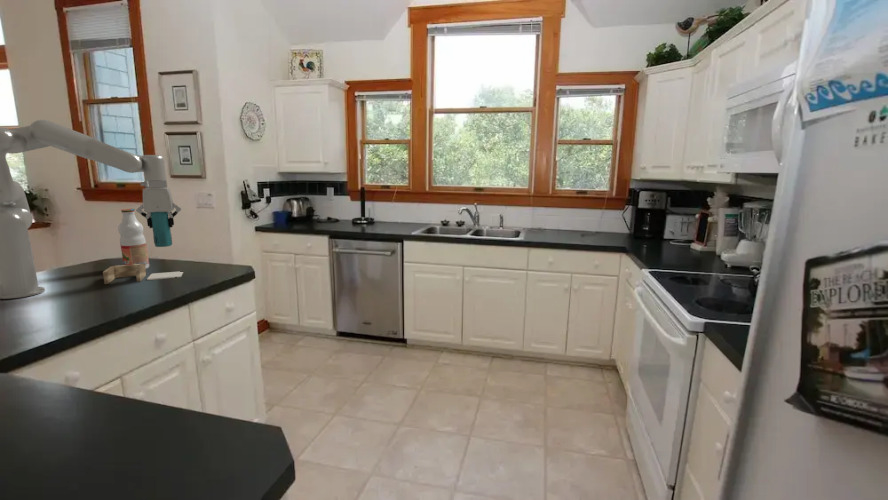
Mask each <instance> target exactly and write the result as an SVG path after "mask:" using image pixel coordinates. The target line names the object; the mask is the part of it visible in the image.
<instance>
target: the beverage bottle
mask: <svg viewBox="0 0 888 500" xmlns="http://www.w3.org/2000/svg"><path fill="white" fill-rule="evenodd" d="M150 215H151V220H152V228H151V229H152V235H153V244H154V247H155V248H166V247H172V245H173V237H172V233H171V232H172V231H171V227H170V226H169V215H168V213H167V212H154V213H151V214H150Z"/></svg>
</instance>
